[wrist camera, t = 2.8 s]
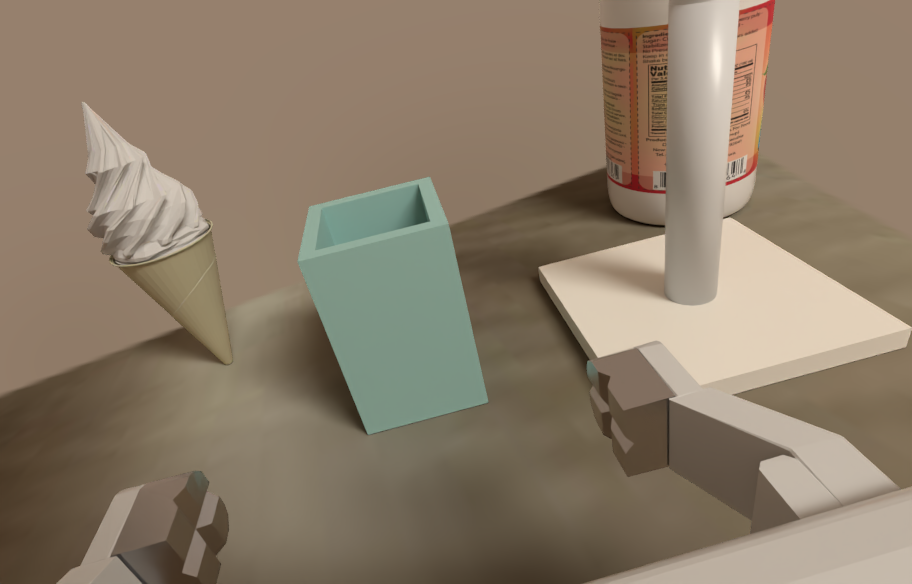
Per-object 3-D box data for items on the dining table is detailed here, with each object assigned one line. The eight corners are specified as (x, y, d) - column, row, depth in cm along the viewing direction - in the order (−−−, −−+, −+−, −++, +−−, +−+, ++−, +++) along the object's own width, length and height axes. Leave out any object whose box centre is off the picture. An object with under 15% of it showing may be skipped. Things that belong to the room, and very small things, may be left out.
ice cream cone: (195, 349, 33) (53, 104, 25) (275, 327, 33) (159, 78, 25) (173, 402, 28) (-7, 126, 21) (266, 377, 29) (122, 96, 21)
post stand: (629, 422, 21) (616, 1, 13) (540, 281, 31) (502, -4, 24) (905, 347, 22) (1051, -103, 14) (729, 232, 32) (754, -63, 24)
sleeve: (367, 434, 23) (297, 261, 19) (365, 359, 28) (309, 206, 24) (488, 402, 24) (448, 223, 19) (466, 333, 28) (429, 176, 24)
